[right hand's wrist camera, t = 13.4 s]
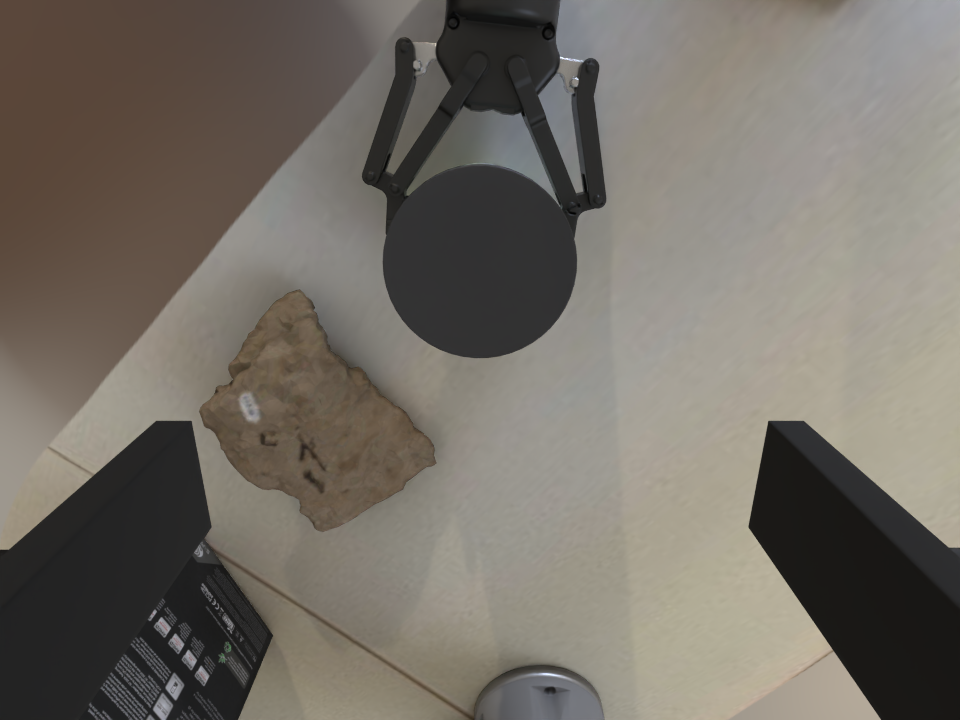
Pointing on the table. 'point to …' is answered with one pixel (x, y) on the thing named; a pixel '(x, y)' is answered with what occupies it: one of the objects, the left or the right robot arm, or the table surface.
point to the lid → (479, 261)
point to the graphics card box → (189, 652)
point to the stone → (312, 420)
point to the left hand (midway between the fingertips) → (474, 290)
